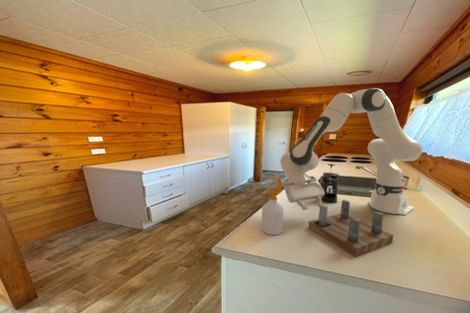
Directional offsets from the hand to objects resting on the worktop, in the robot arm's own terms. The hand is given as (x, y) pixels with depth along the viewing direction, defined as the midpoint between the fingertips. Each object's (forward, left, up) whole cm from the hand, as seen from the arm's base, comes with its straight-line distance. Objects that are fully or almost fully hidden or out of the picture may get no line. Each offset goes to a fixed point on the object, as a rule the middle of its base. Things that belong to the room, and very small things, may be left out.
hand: (313, 207), depth 90 cm
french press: (-34, -20, -8) cm, 40 cm away
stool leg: (0, +5, -8) cm, 10 cm away
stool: (-7, +12, -8) cm, 17 cm away
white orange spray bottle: (+20, -4, -8) cm, 22 cm away
